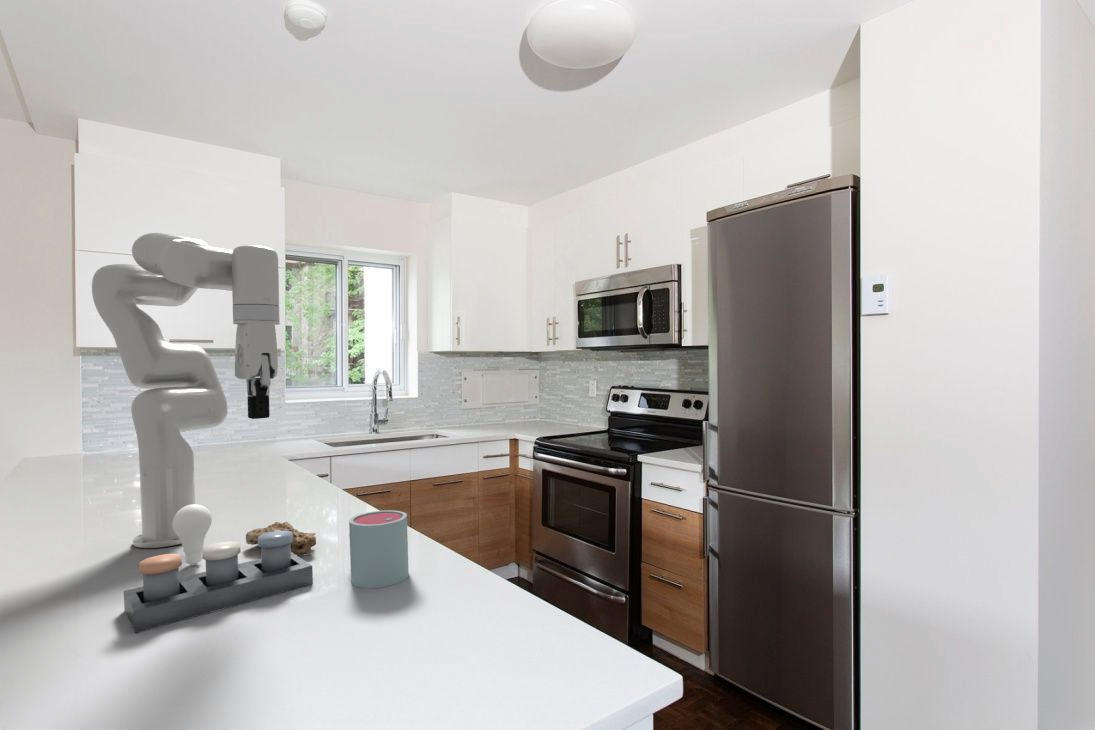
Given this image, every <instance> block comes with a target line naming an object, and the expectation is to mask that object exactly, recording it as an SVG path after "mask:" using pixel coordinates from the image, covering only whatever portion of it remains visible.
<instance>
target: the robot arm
mask: <svg viewBox="0 0 1095 730" xmlns="http://www.w3.org/2000/svg"><path fill="white" fill-rule="evenodd" d="M131 253H132V254H131V256H132V257H133V260H134V261H135V263H136V264H127V263H114V264H107V265H105V266H101V267H100V268H98V269H97V270H96V271H95V273H94V275H93V277H92V279H91V280H92V281H91V294H92V300H93V303H94V306H95V309H96V311H97V313H98V315H99V316H100V318H101V320H102V321H103V323H105V325H106V327H107V328H108V330H109V332H110V333H111V334H112V336H113V339H114V342H115V345H116V348H117V351H118V353H119V356H120V359H121V362H122V364H123V367H124V371H125V373H126V375H127V378H128V380H129V381H130V383H131V384H132V385H133V386H135V387H137V388H141V389H147V390H144V391H142V392H140V393H138V394H137V395H136V396H135V397H134V399H133V400H132V403H131V418H132V421H133V426H134V430H135V435H136V439H137V446H138V447H137V449H138V463H139V464H138V465H139V481H140V482H139V483H140V484H139V486H140V511H141V514H140V515H141V533H139V534H137V535H136V536H135V537H133V539H132V545H133V546H134V547H136V548H141V549H142V548H143V549H155V548H156V549H158V548H159V549H160V548H165V547H166V548H167V547H172V546H178V545H182V542H181V540H180V538H179V537H178V536H177V534H176V533H175V531H174V530H173V526H172V522H173V518H174V516H175V514H176V513H177V512H178V511H179V510H180V509H181V508H183V507H185V506H187V505H191V504H196V488H195V487H196V486H195V485H196V484H195V483H196V481H195V460H194V459H195V458H194V451H193V449H192V447H191V445H190V444H189V443H188V441H187V440H186V439H185V438H184V437H183V435H182V434H181V433H184V432H188V431H189V432H191V431H200V430H205V429H213V428H216V427H219V426H220V425H222V424H223V423H224V422H225V420H226V418H227V416H228V403H227V399H226V396H225V392H224V389H223V386H222V385H221V382H220V379H219V376H218V374H217V372H216V369H215V366H214V363H213V362H212V359H211V357H210V356H209V354H208V352H207V351H205V349H203V348H202V347H200V346H198V345H195V344H188V343H184V344H183V343H179V344H178V343H176V344H175V343H170V342H167V341H166V340H165V337H164V336H163V334H162V329H161V328H160V326H159V324H158V323H157V322H156V321H155V320H154V319H153V318H152V317H151V316H150V315H149V314H148V313H147V312H145V311H144V310H142V309H141V308H139V307H138V306H137V305H141V306H155V307H156V306H158V307H159V306H161V307H178V306H182V305H184V304H185V303H186V302H187V301H189V300H190V298H192V296H193V295H194V294H195V292H197V290H198V289H205V290H206V289H209V290H222V291H230V292H231V293H232V296H231V297H232V324H233V325H236V333H235V347H234V348H235V350H234V352H235V353H234V355H235V356H234V376H235V377H236V378H237V379H239V380H245V382H246V393H247V417H248V419H251V420H259V419H267V418H268V419H269V418H270V415H271V414H270V387H271V384H272V383H271V380H272V379H274V378H276V377H277V375H278V359H279V358H278V343H277V333H276V331H277V329H276V326H277V325H280V318H281V317H280V283H279V282H280V280H279V279H280V278H279V277H280V276H279V256H278V253H277V251H276V250H274V249H273V248H271V247H267V246H262V245H240V246H237V247H235V248H233V250H232V249H228V248H227V249H226V248H221V247H214V246H210V245H208V243H206V242H205V241H203V240H201V239H198V238H194V237H188V236H182V235H175V234H168V233H162V232H150V233H146V234H143V235H141V236H139V237H138V238H137V239H135V241H134V242H133V244H132V247H131Z"/></svg>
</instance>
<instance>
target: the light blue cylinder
mask: <svg viewBox="0 0 1095 730" xmlns="http://www.w3.org/2000/svg"><path fill="white" fill-rule="evenodd" d="M292 541H293V533H292V532H291V531H274V532H269V533H265V534H262V535H260V536H259V537H258V544H257V546H258V547H259V548H260V556H261V557H260V559H261V564H262V572H263V573H267V572H271V571H275V570H279V569H283V568H287V567H291V548H290V543H291V542H292Z"/></svg>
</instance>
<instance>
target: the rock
mask: <svg viewBox="0 0 1095 730" xmlns="http://www.w3.org/2000/svg"><path fill="white" fill-rule="evenodd" d="M274 531H291V532H292V533H293V541H292V542H291V543H290V548H291V552H292V553H294V554H295V555H297V556H298V555H302V556H303V555H304V556H306V555H310V554H311V549H312V547H314V546H316V543H317V541H316V539H317V537H316V536H315V535H316V533H315V532H302V531H299V530H297V529H295V528H294V527H293V526H292V525H291V523H290V522H288V521H285V522H282V523H281V522H279V521H276V522H274V523H272V524H270V525H268V526H267V527H264V528H263V527H262V528H259V527H257V528H254V529H252V530H250V531H248V532H246V534H245V542H246V544H247V545H253V546H254V545H258V537H259V536H260V535H262V534H265V533H269V532H274Z"/></svg>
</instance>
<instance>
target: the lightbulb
mask: <svg viewBox="0 0 1095 730" xmlns="http://www.w3.org/2000/svg"><path fill="white" fill-rule="evenodd" d="M212 516H213V515H212V514H211V511H210V510H209V509H208V508H207V507H205V506H204V505H203V504H202V505H201V504H198V503H197V504H196V503H195V504H191V505H187V506H185V507H183V508H181V509H180V510H179V511H178V512H177V513H176V514H175V516H174V518H173V522H172V526H173V530H174V531H175V533H176V534H177V536H178V537H179V538H180V540H181V542H182V544H181V545H182V552H183V553H184V559H185V563H186V564H187V565H190V566H192V567H193V566H196V565H198V564H199V563H200V562H201V561H202V559H203V558H202V549H203V548H204V544H205V543H204V542H205V539H206V535H207V534H208V532H209V530H210V528H211V526H212V522H213V518H212Z"/></svg>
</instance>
